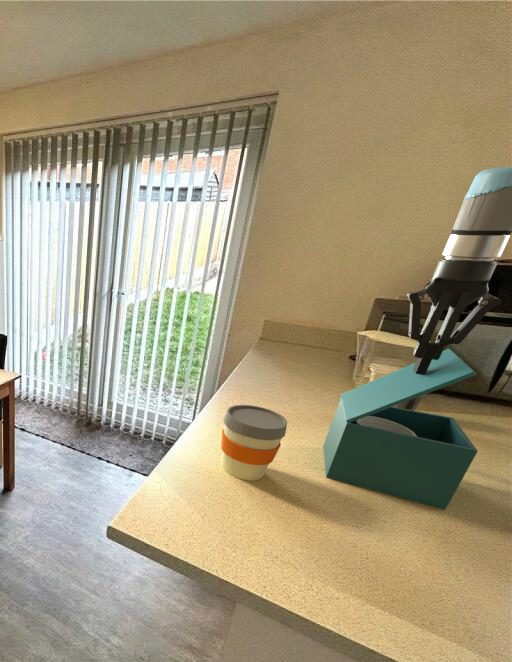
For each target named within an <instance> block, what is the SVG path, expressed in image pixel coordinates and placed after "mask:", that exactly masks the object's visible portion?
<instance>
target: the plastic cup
mask: <svg viewBox="0 0 512 662" xmlns="http://www.w3.org/2000/svg"><path fill="white" fill-rule="evenodd" d="M356 424H357V425H362V426H367V427H372V428H377V429H382V430H386V431H391V432H396V433H401V434H406V435H411V436H415V437H417V436H416V434H415V433H414V432H413V431H411V430H410V429H408V428H406V427H404V426H402V425H400V424H398V423H395V422H393V421H390V420H387V419H383V418H379V417H374V416H366V417H364V418H361V419H358V420H356Z"/></svg>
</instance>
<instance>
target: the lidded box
mask: <svg viewBox="0 0 512 662" xmlns="http://www.w3.org/2000/svg"><path fill="white" fill-rule="evenodd" d="M369 416H374V417H379V418H383V419H387V420H390V421H393V422H395V423H398V424H400V425H402V426H404V427H406V428H408V429H410V430H411V431H413V432H414V433H415V434H416V436H417V437H415V436H411V435H406V434H401V433H396V432H391V431H386V430H382V429H377V428H372V427H367V426H362V425H357V424H356V421H353V422H350V423H348V422H347V421H346V416H345V412H344V407H343V403H342V398H341V397H340V399H339V402H338V404H337V407H336V411H335V413H334V415H333V417H332V420H331V423H330V426H329V429H328V431H327V435H326V438H325V441H324V443H323V447H322V449H323V458H324V468H325V477H326V479H331V480H333V481H334V480H335V481H337V482H341V483H346V484H349V485H352V486H356V487H360V488H364V489H366V490H371V491H375V492H379V493H381V494H385V495H389V496H393V497H397V498H400V499H403V500H408V501H411V502H416V503H419V504H422V505H426V506H430V507H433V508H436V509H437V508H438V509H441V510H446V509H447V507H448V506H449V504H450V502H451V501H452V499H453V497H454V495H455V493H456V492H457V490H458V488H459V486H460V484H461V483H462V481H463V479H464V477H465V475H466V473H467V471H469V468H470V466H471V465H472V463H473V461H474V459H475V457H476V456H477V454H478V449H477V448H476V446H475V445H474V444H473V442H472V441H471V440H470V438H469V437H468V436H467V434H466V432H465V431H464V430H463V428H462V427H461V426H460V425H459V424H458V422H457V420H456V419H455V418H454V417H451V416H446V415H440V414H434V413H429V412H424V411H419V410H414V411H413V410H408V409H402V408H397V407H390V408H387V409H385V410H382V411H379V412H377V413H374V414H372V415H369Z"/></svg>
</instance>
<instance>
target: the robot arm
mask: <svg viewBox="0 0 512 662" xmlns="http://www.w3.org/2000/svg"><path fill="white" fill-rule="evenodd" d="M511 235H512V166H504V167H503V166H501V167H492V168H487V169H484V170H481V171H479V172H478V173H477V174H476V175H475V176H474V178H473V180H472V183H471V184H470V187H469V188H468V191H467V193H466V195H465V196H464V198H463V201H462V204H461V206H460V209H459V212H458V214H457V217H456V219H455V222H454V225H453V226H452V229H451V232H450V235H449V237H448V239H447V241H446V244H445V245H444V248H443V251H442V253H441V254H442V256H443V257H444V258H441V259H439V260H438V263H437V265H436V268H435V269H434V273H433V274H432V277H431V279H430V281H429V282H428V283H426V284H425V286H424V288H420V289H417V290H415V291H408V292H407V293H406V297H407V299H408V301H409V303H410V304H409V319H408V333H407V335H408V337H409V338H410V339H411V340H414V341H416V342H417V343H416V345H415V347H414V350H413V353H412V355H413V357H414V358H416V361H415V362H414V363H415V366H414V368H413V371H414V373H415V374H420V375H425V374H426V372H427V370H428V367H429V365H430V363H431V361H432V360H438V359H439V358H440V356H441V354H442V352H443V351H444V350H445V348H446V347H447V346H449V345H459V344H461V343H462V342H463V341H464V340H465V339H466V338H467V337H468V335H469V334H470V333H471V332H472V331H473V329H474V328H475V327H476V326H477V325H478V324H479V323H480V321H481V320H482V319H483V318H484V317H485V316H486V314H487V313H488V312H489V311H491V310H492V309H494V308H495V307H497V306H499V305H500V304H501V303H502V300H501V299H500V298H499V297H496V296H493V294H491V293H489V289H490V288H489V282H490V280H491V278H492V276H493V273H494V271H495V270H496V267H497V265H498V262H497V261H496V260H495V259H498V258H500V257H502V255H503V252H504V250H505V248H506V246H507V244H508V241H509V239H510V237H511ZM425 295H427V297H428V299H429V301H430V302H431V306H430V310H429V313H428V316H427V317H426V319H425V322H424V325H423V327H422V329H421V328H420V326H421V315H422V314H421V313H422V301H423V300H424V299H425ZM475 301H477V303H478V304H477V305H476V306H475V307H474V308H473V309H472V311H470V313H469V314H468V315H467V316H466V318H465V319H464V320H463V321H462V322H461V324H459V326H458V327H457V328H456V325H457V323H458V321H459V319H460V317H461V314H462V313H463V312H464V310H465V308H466V307H468V306H469V305H470V304H473V303H474V302H475ZM448 307H449V308H448ZM446 308H448V311H447V314H446V315H445V317H444V320H443V322H442V325H441V326H440V329H439V331H438V334H437V336H436V338H435V342H432V341H431V339H432V337H433V334H434V333H435V330H436V328H437V326H438V323H439V321H440V320H441V319H440V318H441V316H442V315H443V312H444V311H445V309H446ZM455 328H456V329H455ZM420 329H421V332H420Z"/></svg>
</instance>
